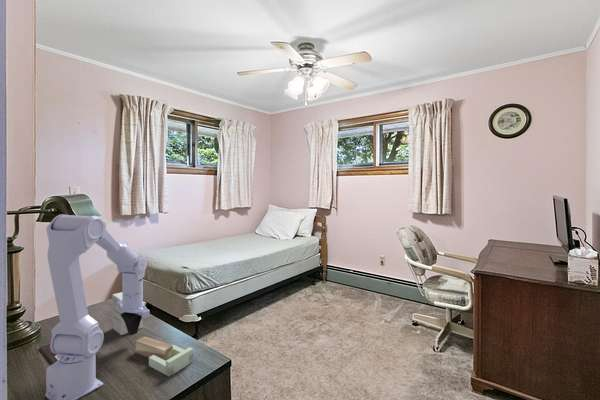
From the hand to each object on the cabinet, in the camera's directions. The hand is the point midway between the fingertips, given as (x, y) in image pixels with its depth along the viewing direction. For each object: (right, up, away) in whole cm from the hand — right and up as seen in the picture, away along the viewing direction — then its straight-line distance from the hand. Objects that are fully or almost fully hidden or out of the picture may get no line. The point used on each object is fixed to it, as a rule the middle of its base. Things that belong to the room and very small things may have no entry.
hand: (133, 333), depth 95 cm
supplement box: (-8, -3, +10) cm, 13 cm away
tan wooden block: (+9, -4, -5) cm, 12 cm away
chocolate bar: (-17, -4, -6) cm, 18 cm away
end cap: (+16, -5, -9) cm, 19 cm away
